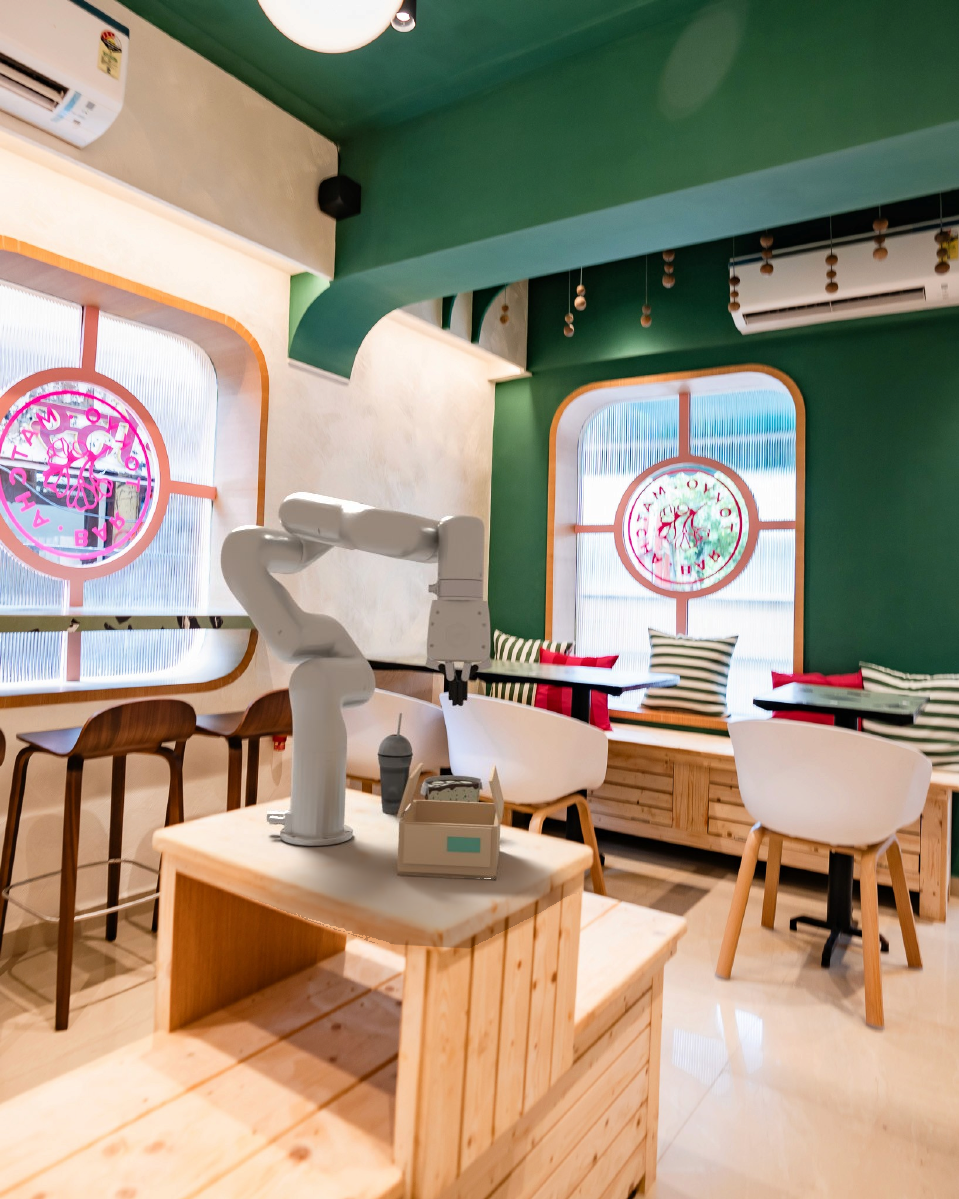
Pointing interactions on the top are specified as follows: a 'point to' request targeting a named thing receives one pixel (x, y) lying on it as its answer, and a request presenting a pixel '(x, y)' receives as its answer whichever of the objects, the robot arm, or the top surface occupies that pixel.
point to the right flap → (496, 793)
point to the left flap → (409, 790)
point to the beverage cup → (394, 769)
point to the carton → (449, 840)
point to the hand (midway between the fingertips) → (457, 704)
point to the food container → (452, 788)
